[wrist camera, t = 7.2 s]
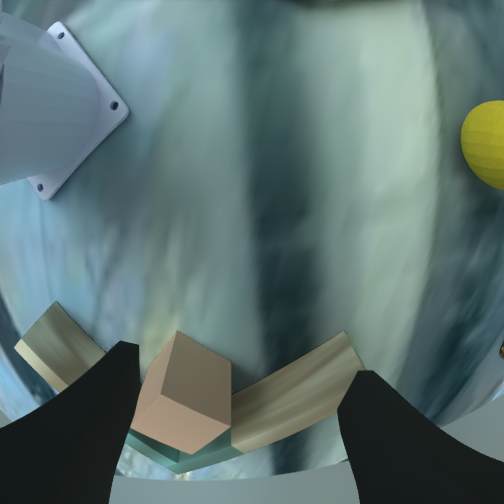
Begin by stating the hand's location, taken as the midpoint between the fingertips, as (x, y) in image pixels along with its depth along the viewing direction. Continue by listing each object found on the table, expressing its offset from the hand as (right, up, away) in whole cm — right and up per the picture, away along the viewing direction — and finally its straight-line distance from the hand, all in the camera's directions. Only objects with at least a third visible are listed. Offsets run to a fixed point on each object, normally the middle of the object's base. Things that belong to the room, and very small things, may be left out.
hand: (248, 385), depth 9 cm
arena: (-4, -1, +11) cm, 11 cm away
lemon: (+15, +12, +7) cm, 20 cm away
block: (-5, -4, +12) cm, 13 cm away
